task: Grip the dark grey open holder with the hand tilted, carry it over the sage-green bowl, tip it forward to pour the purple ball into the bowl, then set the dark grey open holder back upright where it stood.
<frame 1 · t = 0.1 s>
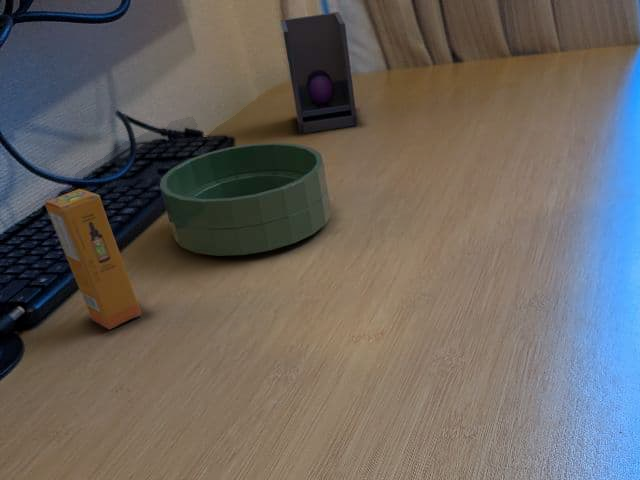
bowl: (254, 228, 80), on the table
ball: (321, 90, 103), point 3 cm above the table, touching dark grey open holder
supplement box: (116, 320, 69), on the table
dark grey open holder: (326, 121, 104), on the table, touching ball
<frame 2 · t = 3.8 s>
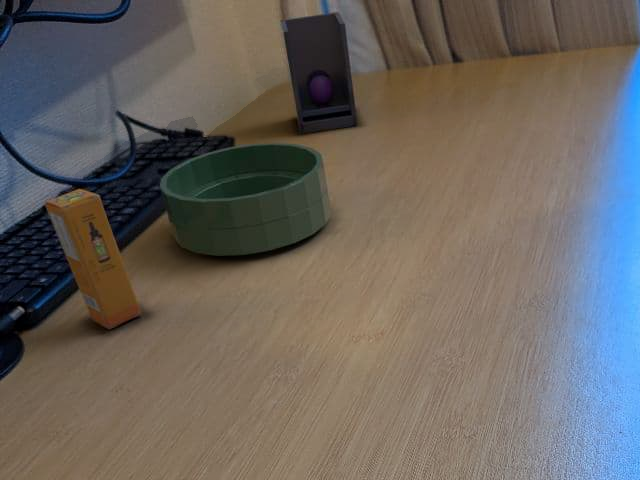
nothing on the table moved.
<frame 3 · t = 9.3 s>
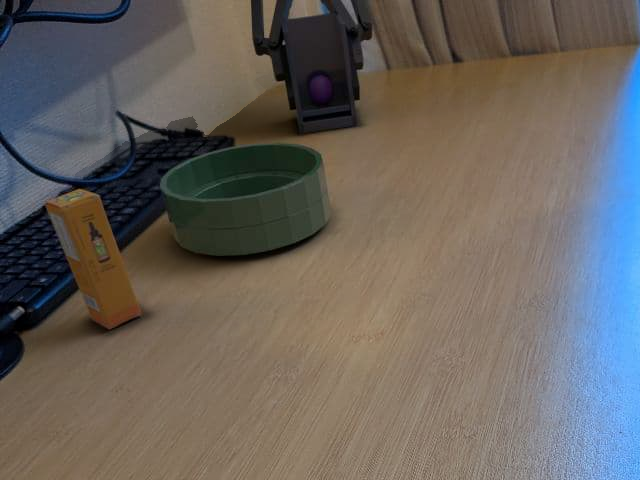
hand: (324, 98, 99), 4 cm above the table, tool tilted 45°, fingers closed on dark grey open holder, 7 cm apart
dark grey open holder: (326, 121, 104), on the table, touching ball, gripper
everything else where it was.
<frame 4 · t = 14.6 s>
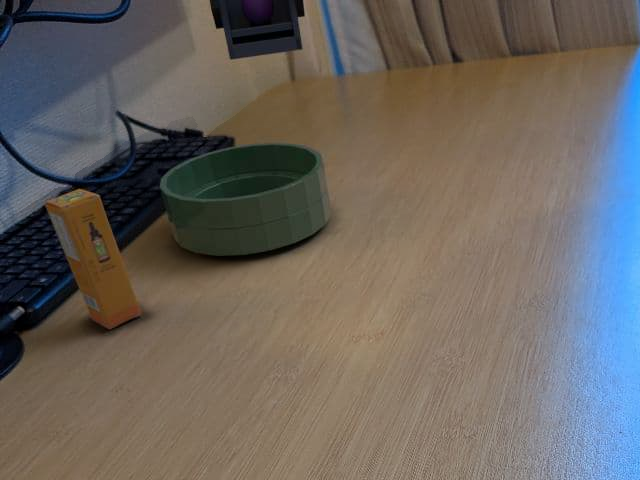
hand: (258, 12, 78), 16 cm above the table, tool tilted 45°, fingers closed on dark grey open holder, 7 cm apart
ball: (257, 6, 82), point 16 cm above the table, touching dark grey open holder
dark grey open holder: (265, 47, 83), point 12 cm above the table, touching ball, gripper
everything else where it was.
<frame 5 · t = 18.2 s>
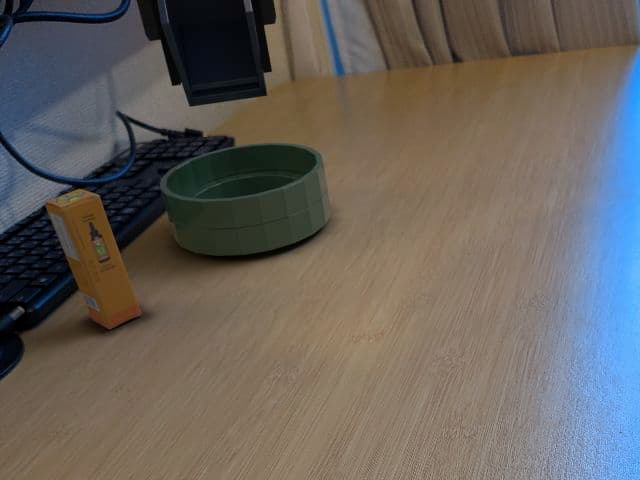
hand: (222, 75, 72), 13 cm above the table, tool pointing down, fingers closed on dark grey open holder, 7 cm apart
ball: (260, 213, 77), point 2 cm above the table, tilted 36°, touching bowl
dark grey open holder: (222, 64, 76), point 13 cm above the table, tilted 45°, touching gripper
everything else where it was.
when the fingers open (4 cm above the table, at t = 29.6 s): dark grey open holder stays where it is, on the table.
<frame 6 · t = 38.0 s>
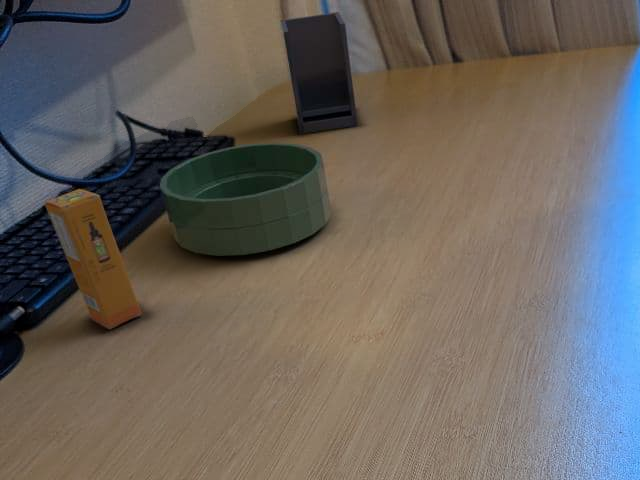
ball: (263, 215, 76), point 2 cm above the table, tilted 46°, touching bowl
dark grey open holder: (326, 121, 104), on the table
everything else where it was.
at the end: ball inside the target area in the bowl (3.5 cm from its centre), point 2.2 cm above the bowl's base; dark grey open holder tilted 0°; dark grey open holder inside the target area (0.1 cm from its centre), on the table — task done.
